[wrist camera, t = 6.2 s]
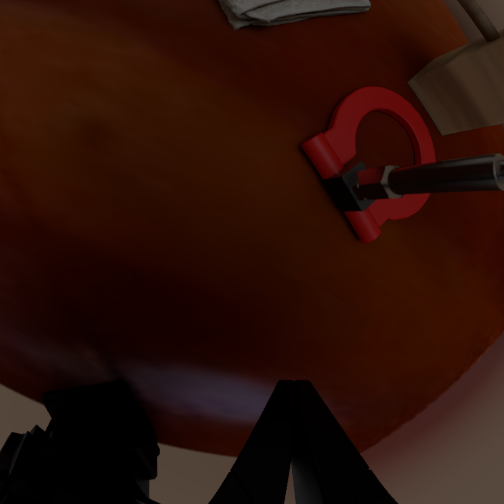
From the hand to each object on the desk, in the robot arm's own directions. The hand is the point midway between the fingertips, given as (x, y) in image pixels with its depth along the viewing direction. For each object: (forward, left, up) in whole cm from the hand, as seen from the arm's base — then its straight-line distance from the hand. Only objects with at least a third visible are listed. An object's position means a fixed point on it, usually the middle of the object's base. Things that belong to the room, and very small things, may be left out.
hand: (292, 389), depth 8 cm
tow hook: (+12, +6, -11) cm, 17 cm away
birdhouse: (+19, +12, -10) cm, 25 cm away
